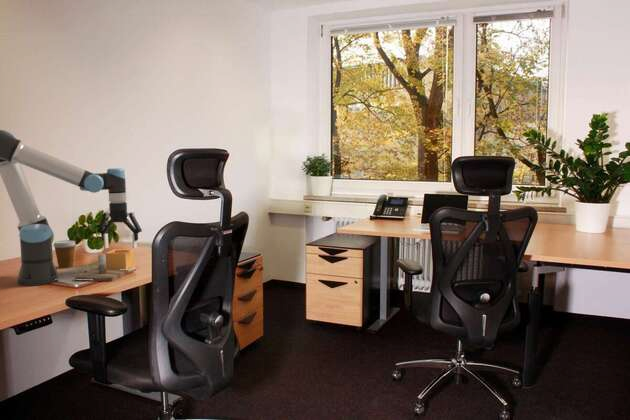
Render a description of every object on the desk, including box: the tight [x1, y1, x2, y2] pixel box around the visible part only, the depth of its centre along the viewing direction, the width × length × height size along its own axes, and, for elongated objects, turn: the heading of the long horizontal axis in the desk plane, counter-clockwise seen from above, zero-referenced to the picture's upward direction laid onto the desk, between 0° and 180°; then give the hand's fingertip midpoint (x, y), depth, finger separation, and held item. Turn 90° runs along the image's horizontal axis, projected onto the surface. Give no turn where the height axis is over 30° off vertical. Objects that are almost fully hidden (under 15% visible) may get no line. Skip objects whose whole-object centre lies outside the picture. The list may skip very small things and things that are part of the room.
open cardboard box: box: [103, 248, 136, 269], centre depth 250 cm, size 10×10×8 cm
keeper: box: [74, 253, 130, 282], centre depth 234 cm, size 16×16×10 cm
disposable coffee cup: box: [53, 239, 77, 269], centre depth 254 cm, size 10×10×12 cm
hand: (120, 247), depth 250 cm, fingers open, 13 cm apart
